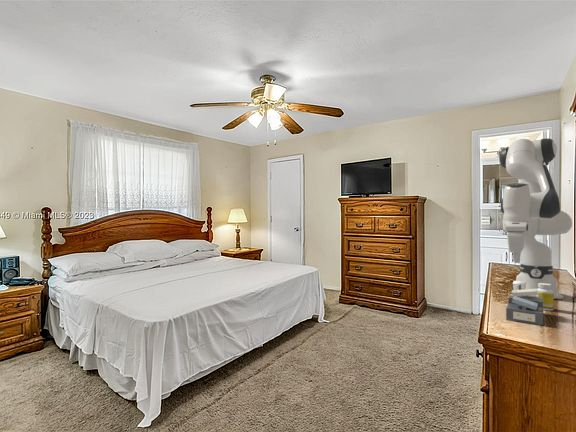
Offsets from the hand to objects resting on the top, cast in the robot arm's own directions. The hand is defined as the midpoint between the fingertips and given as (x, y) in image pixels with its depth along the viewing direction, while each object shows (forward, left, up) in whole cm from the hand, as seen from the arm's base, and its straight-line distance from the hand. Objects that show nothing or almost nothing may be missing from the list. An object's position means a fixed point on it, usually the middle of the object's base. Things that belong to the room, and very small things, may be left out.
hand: (517, 262), depth 121 cm
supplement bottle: (-12, +8, -19) cm, 24 cm away
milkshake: (-18, 0, -19) cm, 26 cm away
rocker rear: (0, +3, -11) cm, 11 cm away
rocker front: (+9, +3, -13) cm, 16 cm away
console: (+5, +3, -19) cm, 19 cm away
